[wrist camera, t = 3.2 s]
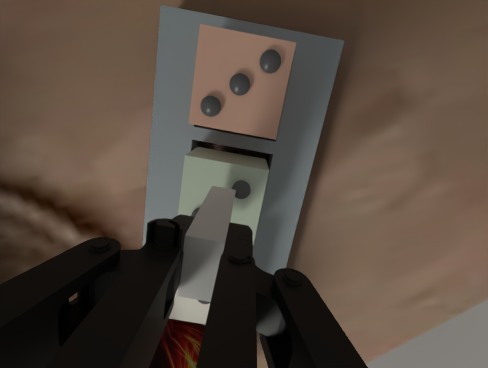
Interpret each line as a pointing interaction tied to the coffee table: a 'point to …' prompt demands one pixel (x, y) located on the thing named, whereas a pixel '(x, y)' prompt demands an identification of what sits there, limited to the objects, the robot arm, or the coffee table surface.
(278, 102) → the key three
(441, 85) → the coffee table surface
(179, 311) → the key one
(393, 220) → the coffee table surface
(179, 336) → the mug
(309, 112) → the keypad board
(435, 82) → the coffee table surface
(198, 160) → the key two
